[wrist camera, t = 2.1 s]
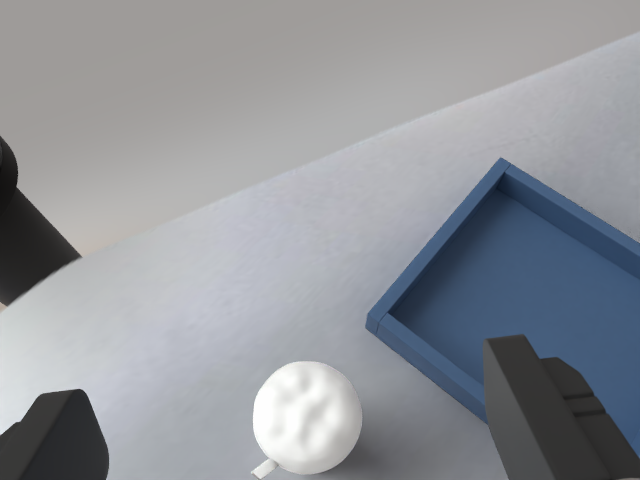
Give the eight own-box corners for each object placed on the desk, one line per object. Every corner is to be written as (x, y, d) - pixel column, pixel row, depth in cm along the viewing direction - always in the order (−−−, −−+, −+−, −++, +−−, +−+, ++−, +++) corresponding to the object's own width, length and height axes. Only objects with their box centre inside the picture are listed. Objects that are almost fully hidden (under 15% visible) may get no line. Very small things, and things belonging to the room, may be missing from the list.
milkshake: (244, 462, 30) (208, 437, 21) (304, 381, 32) (294, 327, 23) (312, 518, 29) (303, 517, 20) (371, 430, 31) (387, 394, 22)
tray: (364, 327, 34) (367, 313, 31) (490, 178, 38) (500, 156, 36) (604, 517, 29) (627, 517, 27) (716, 321, 33) (743, 307, 31)
